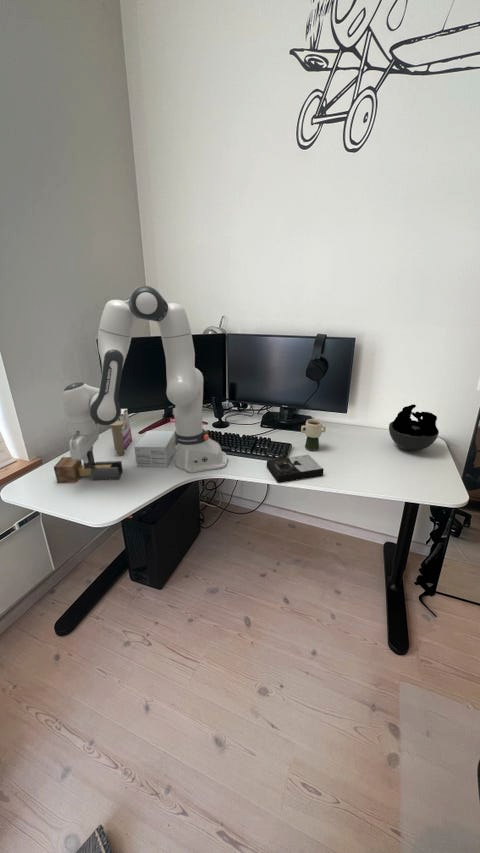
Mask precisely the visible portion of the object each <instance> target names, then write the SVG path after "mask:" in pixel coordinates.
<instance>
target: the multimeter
mask: <svg viewBox="0 0 480 853" xmlns="http://www.w3.org/2000/svg"><path fill="white" fill-rule="evenodd" d="M266 468H267V470H268V471H269V473H270V475H271V476H272V477H273V478H274V480H275V482H276V483H277V484H281V483H287V482H288V483H289V482H295V481H298V480H299V481H300V480H306V479H313V478H319V477H323V476H324V468H323V467H322V466H321V465H320V464H319V463H318V462H317V461H316V460H315V459H314V458H313V457H312V456H311V455H310V454H303V455H302V454H301V455H294V456H288V457H282V458H281V457H280V458H275V459H268V460H266Z"/></svg>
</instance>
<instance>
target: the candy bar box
mask: <svg viewBox="0 0 480 853" xmlns="http://www.w3.org/2000/svg"><path fill="white" fill-rule="evenodd" d="M117 421H122V422H124V426H123V427H121V432H122V436H123V441H124V451H126V450H127V448H128V447H129V446H130V444H131V443H132V441H133V437H132V430H131V425H130V423H131V422H130V418H129V412H128V408H121V416H120V418H119V419H118V420H117ZM110 429H111V435H112V439H113V442H114V435H113V429H112V428H110ZM113 445H114V444H113ZM114 450H115V451H116V449H115V445H114Z"/></svg>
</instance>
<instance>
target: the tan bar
mask: <svg viewBox="0 0 480 853" xmlns="http://www.w3.org/2000/svg"><path fill="white" fill-rule="evenodd" d="M93 451H94V450H93ZM93 451H88V452H87V457H89V462H88V463H83V464H82V465H78V466H77V468H76V472H77V476H81V477H85V476H86V477H87V476H88V477H89V476H92V473H91V468H105V467H112V464H103V465H95V462H96V461H95V456H94V452H93Z"/></svg>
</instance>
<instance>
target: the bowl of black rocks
mask: <svg viewBox="0 0 480 853" xmlns="http://www.w3.org/2000/svg"><path fill="white" fill-rule="evenodd" d="M416 407H417V405H416V404H410V405H407V406H404V407H402V408H401V409H402V410H400V411H399V412H398V414H397V415H396V417H395V418H394V420H393V421H392V422H389V425H388V432H389V436H390V437H391V439H392V441H393V442H394V443H395V444H396V445H397V446H398V447H400V448H402V449H404V450H407V451H421V450H425V449H427V448H429V447H430V446H431V445H433V444H434V443H435V441H436V440H437V439H438V437H439V434H440V433H439V429H438V427H437V419H438V416H437V415H435V414H433V413H432V412H429V411H421V412H419V411H414V412H413V409H415V408H416ZM412 416H413V417H414V418H416V419H417V420H413V419H412Z"/></svg>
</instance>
